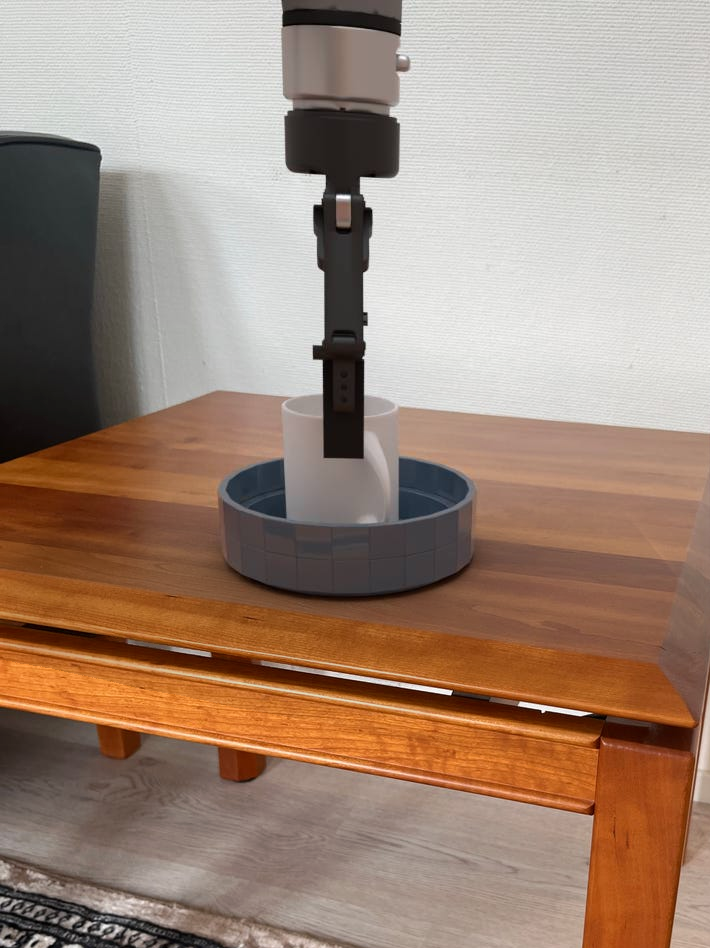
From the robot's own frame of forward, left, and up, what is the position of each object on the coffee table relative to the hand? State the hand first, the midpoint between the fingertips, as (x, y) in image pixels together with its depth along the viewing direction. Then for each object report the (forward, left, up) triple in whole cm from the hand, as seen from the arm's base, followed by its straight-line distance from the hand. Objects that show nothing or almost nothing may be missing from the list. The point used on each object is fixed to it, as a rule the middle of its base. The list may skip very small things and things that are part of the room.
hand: (343, 433), depth 75 cm
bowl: (0, 0, -9) cm, 9 cm away
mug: (+1, -1, -9) cm, 9 cm away
